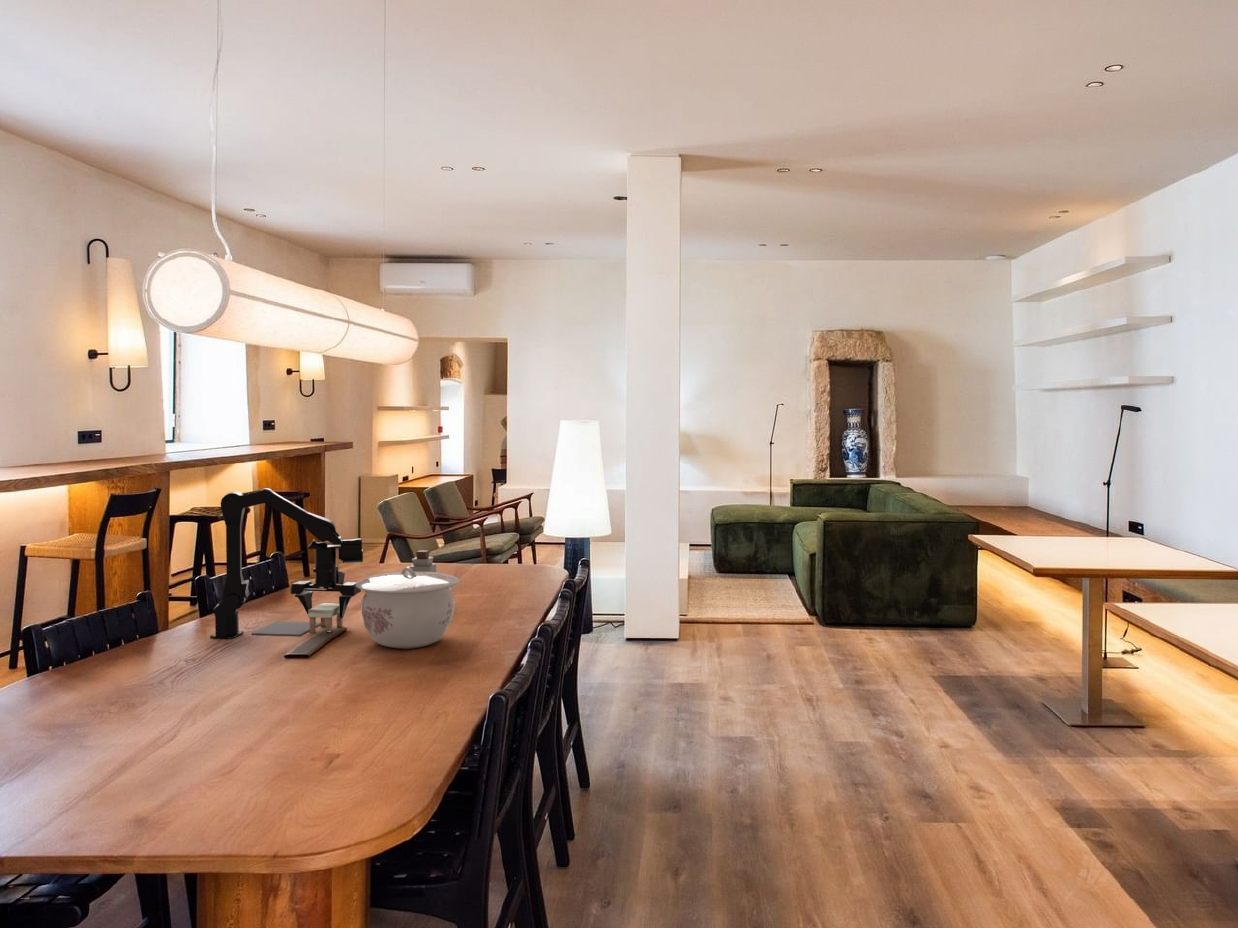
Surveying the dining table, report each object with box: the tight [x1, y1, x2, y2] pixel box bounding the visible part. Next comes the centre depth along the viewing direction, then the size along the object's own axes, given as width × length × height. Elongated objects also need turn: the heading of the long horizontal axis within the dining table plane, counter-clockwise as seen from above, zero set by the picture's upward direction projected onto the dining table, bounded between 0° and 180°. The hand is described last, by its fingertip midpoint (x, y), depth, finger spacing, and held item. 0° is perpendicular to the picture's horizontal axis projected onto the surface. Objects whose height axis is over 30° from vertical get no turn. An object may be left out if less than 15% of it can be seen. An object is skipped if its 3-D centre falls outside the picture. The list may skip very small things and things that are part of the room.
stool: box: [307, 602, 344, 634], centre depth 246 cm, size 9×6×6 cm
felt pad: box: [251, 620, 321, 637], centre depth 246 cm, size 14×14×1 cm
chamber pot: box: [355, 566, 461, 650], centre depth 232 cm, size 28×28×21 cm
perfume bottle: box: [408, 549, 437, 572], centre depth 276 cm, size 7×7×18 cm
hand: (326, 617), depth 246 cm, fingers open, 9 cm apart
